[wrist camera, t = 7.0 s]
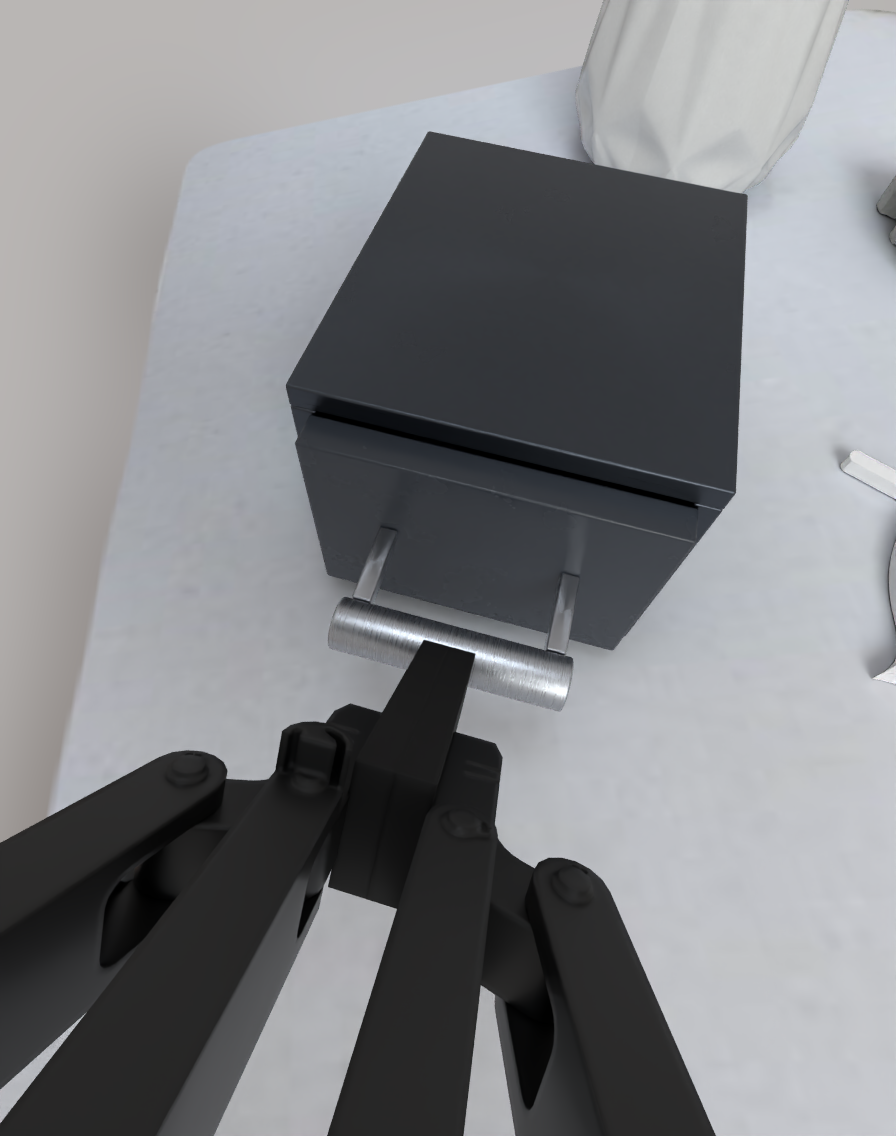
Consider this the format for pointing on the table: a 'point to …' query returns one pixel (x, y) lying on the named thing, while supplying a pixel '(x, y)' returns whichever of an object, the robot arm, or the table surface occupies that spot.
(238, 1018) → the robot arm
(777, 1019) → the table surface
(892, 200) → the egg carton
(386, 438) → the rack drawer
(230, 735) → the table surface
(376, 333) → the small drawer cabinet
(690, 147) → the vase
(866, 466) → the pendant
